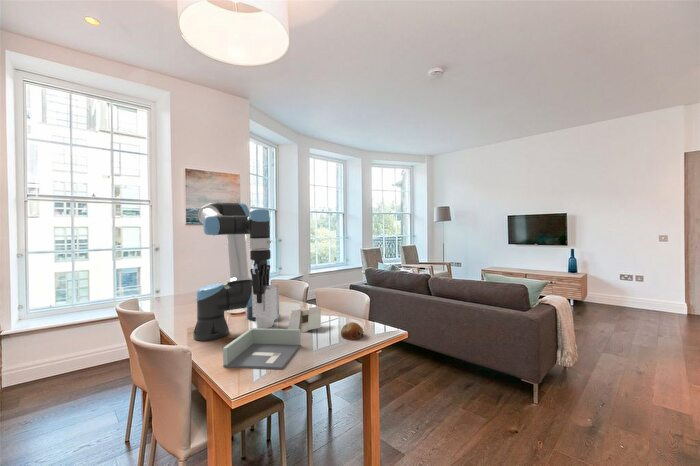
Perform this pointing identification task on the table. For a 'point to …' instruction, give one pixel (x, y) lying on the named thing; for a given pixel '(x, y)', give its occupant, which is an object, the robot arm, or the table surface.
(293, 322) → the wall
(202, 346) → the table surface
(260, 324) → the candle holder
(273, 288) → the angle bracket
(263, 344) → the corner tray
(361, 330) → the bread roll
